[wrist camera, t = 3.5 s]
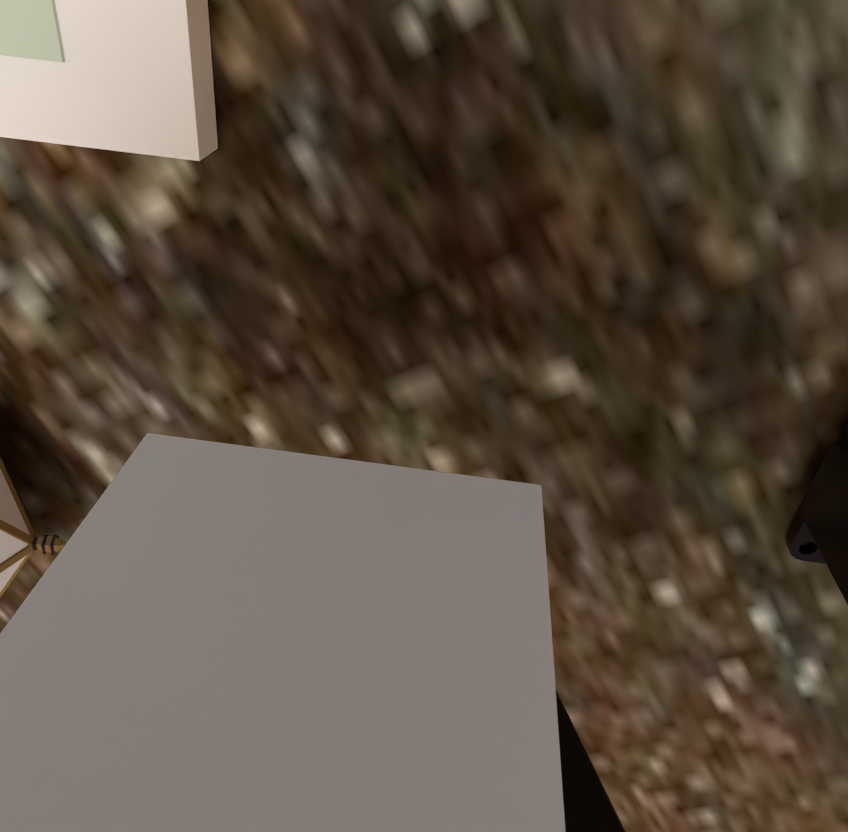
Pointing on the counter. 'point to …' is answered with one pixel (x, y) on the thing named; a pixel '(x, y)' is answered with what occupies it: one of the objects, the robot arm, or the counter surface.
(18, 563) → the game die
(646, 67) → the counter surface
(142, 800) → the grey cube
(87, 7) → the plate
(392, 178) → the counter surface
